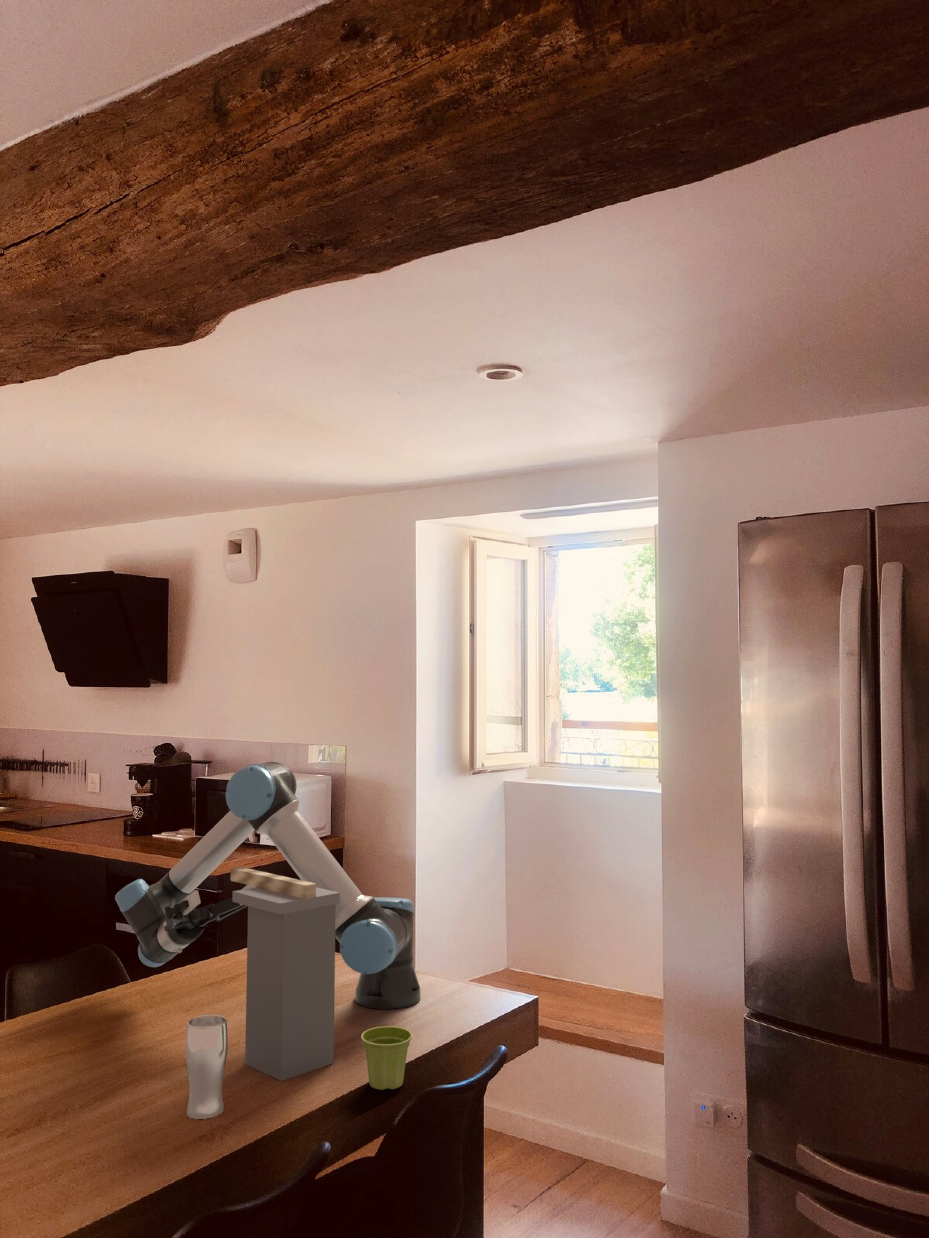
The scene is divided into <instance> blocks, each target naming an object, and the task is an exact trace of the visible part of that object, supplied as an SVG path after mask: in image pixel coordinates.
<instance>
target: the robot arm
mask: <svg viewBox="0 0 929 1238" xmlns="http://www.w3.org/2000/svg"><path fill="white" fill-rule="evenodd" d="M296 793H297V780H296V777H295V774H294V773H293V772H292V770H291V769H290V768H289V767H288V766H287V765H285V764H283V763H280V762H278V761H267V762H262V763H259V764H258V763H257V764H256V763H254V764H253V763H252V764H248V765H246V766H244V767H242V768H240V769H237V770H236V771H235V772H234V773H233V774H232V776H231V777H230V779H229V780H228V782H227V785H226V790H225V800H226V805H227V806H228V808H229V811H228V812H227V813H226V814H225V815H224V817H222V818H221V819H220V820H219V821H218V822H217V823H216V824H215V825H214V826H213V828H211V829H210V830H209V831H208V832H207V833H206V834H205V835H204V836H203V837H202V838H201V839H200V840H199V841H198V842H196V844H194V846H193V847H192V848H191V849H190V850H189V851H188V852H187V853H186V854H185V855H184V856H183V857H182V858H180V859H179V861H178V862H177V863H176V864H175V865H174V866H173V867H172V868H171V869H170V870H169V871H168V872H167V873H166V874H165V875H164V876H163V877H161V879H160V880H159V881H157V882H156V883H153V884H150V885H149V884H148V883H147V882H146V881H145V880H144V879H142V878H138V879H136V880H134V881H132V882H130V883H129V884H127V885H125V886H124V887H122V888H121V889H120V890H118V892H117V893H116V894H115V895H114V896H115V897H114V899H115V902H116V903H117V906H118V908H119V911H120V912H121V913H122V915H123V917H124V918H125V921H126V922H127V923H128V924H129V926H130V928H131V929H132V931H133V933H134V934H135V935H136V939H137V940H138V941H139V944H138V948H137V953H138V955H137V956H138V957H139V960H140V962H141V963H142V964H143V965H145V966H147V967H150V968H159V967H161V966H163V965H165V964H166V963H167V962H169V961H171V960H172V959H173V958H174V957H175V956H177V954H181V953H182V952H183V949H185V948H186V947H188V946H189V945H190V944H191V943H193V942H194V941H196V940H197V938H199V937H200V936H201V935H202V934H203V932H204V929H205V926H207V925H208V924H209V923H211V922H214V921H215V922H216V923H219V922H221V921H222V920H224V919H225V918H227V917H229V916H231V915H234V914H235V913H238V912H240V911H241V910H243V909H246V908H248V906H246V905H243V904H239V903H235V902H232V899H233V896H232V897H229V898H227V899H225V900H222V901H220V902H217V903H209V904H207V905H205V906H199V905H200V904H201V897H200V894H199V889H197V888H198V887H199V885H201V884H202V882H203V881H205V880H206V879H207V878H208V877H209V876H210V875H211V874H212V873H213V872H214V871H215V870H216V869H217V868H218V867H219V866H220V865H221V864H222V863H223V862H225V860H226V859H227V858H229V856H230V855H231V854H233V852H234V851H235V850H237V848H238V847H239V846H240V845H241V844H243V842H244V841H245V840H246V839H248V838H249V837H250V835H252V834H253V833H254V832H256V834H260V835H266V836H267V837H268V838H269V840H271V842H272V843H273V845H275V847H276V849H277V850H278V851H279V852H280V854H281V855H282V857H283V858H284V859H285V860H286V862H287V863H288V864H289V866H290V867H291V868H292V870H293V871H294V872H295V874H296V875H297V876H298V877H299V880H302V881H306V882H311V883H315V884H316V887H317V888H321V889H326V890H330V891H335V892H339V893H340V903H338V904H336V915H335V940H337V941H338V942H339V953H340V954H341V958H342V960H343V962H344V963H345V964H346V966H347V967H348V968H350V970H353V972H356V973H358V974H360V975H359V978H358V980H357V984H356V987H355V991H354V992H355V993H354V996H355V999H354V1000H355V1002H356V1003H357V1004H358V1005H359V1006H363V1007H366V1008H369V1009H376V1010H377V1009H380V1010H386V1009H387V1010H390V1009H402V1008H406V1007H410V1006H412V1005H413V1006H414V1005H416V1004H417V1003H418V1002H419V1001H421V987H420V984H419V983H420V982H419V979H418V977H417V974H416V969H415V966H414V915H415V911H414V903H413V901H412V900H411V899H410V898H403V897H402V898H401V897H374V896H372V895H370V896H369V895H364V894H362V892H361V891H360V889H359V887H357V885H356V884H355V882H353V880H352V879H351V878H350V876H348V874H347V873H346V871H345V870H344V868H343V867H342V866H341V865H340V863H339V862H338V861H337V859H336V858H335V857H334V855H333V854H332V853H331V852H330V850H329V849H328V847H327V846H326V845H325V843H324V842H323V841H322V840H321V839H320V837H319V836H318V834H317V833H316V832H315V831H314V830H313V828H312V827H311V825H310V824H309V823H308V822H307V820H306V819H305V818H304V816H303V815H302V814H301V813H300V811H299V803H300V799H298V797H297V796H296ZM250 888H256V887H255V886H251V885H247V884H246V885H245V886H244V887H243V888H242V889H241V890H244V889H250ZM197 906H199V907H197ZM209 909H210V910H209Z"/></svg>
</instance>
